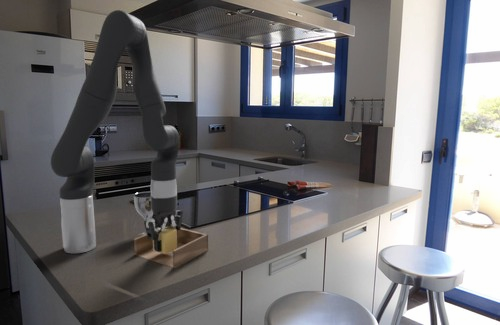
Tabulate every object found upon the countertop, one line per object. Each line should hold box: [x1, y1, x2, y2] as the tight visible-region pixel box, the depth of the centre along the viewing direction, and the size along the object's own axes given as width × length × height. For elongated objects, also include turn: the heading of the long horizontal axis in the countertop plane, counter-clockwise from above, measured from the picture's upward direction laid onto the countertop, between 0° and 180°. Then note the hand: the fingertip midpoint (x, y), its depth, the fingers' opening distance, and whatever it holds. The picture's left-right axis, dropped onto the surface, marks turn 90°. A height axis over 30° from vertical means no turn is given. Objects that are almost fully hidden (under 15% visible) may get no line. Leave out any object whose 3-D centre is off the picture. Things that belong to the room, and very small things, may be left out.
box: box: [133, 227, 209, 269], centre depth 108 cm, size 17×15×6 cm
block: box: [153, 227, 177, 254], centre depth 106 cm, size 5×5×6 cm
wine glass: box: [133, 191, 153, 236], centre depth 122 cm, size 8×8×15 cm
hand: (165, 247), depth 106 cm, fingers closed on block, 5 cm apart
